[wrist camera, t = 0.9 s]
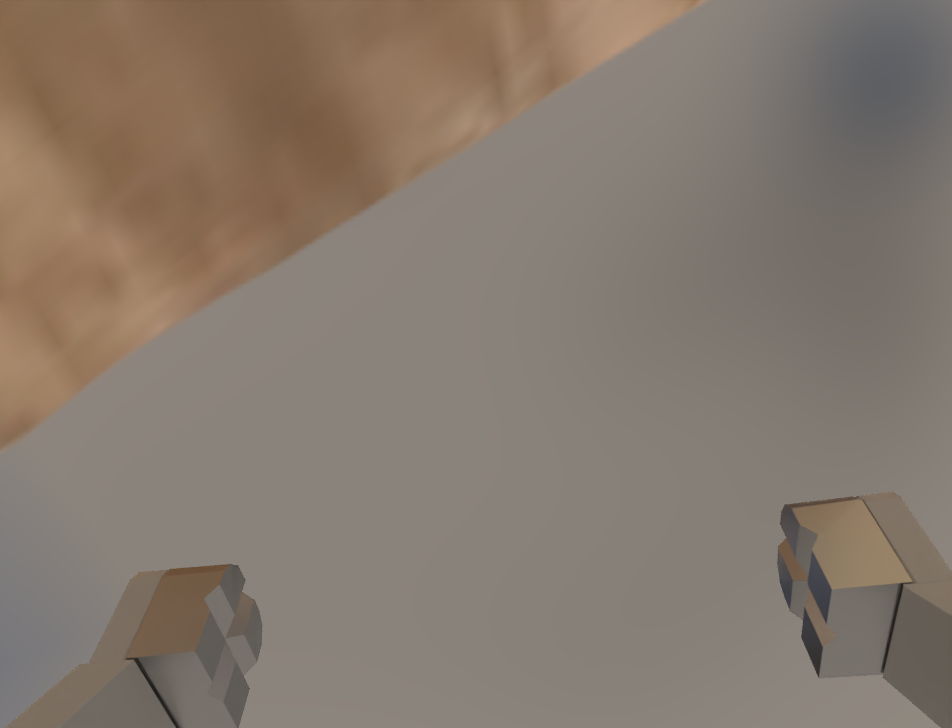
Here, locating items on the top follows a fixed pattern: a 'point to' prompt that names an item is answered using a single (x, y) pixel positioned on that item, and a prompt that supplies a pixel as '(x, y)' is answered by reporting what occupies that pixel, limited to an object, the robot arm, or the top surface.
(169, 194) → the top surface
